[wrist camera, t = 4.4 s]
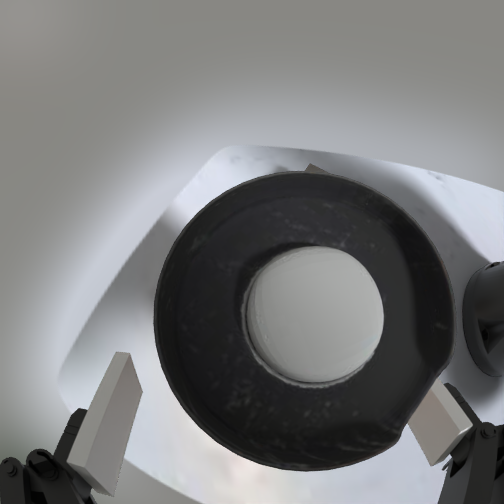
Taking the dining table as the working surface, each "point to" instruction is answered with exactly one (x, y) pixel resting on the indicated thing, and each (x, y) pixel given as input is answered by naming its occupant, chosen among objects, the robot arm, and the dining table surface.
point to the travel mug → (303, 320)
